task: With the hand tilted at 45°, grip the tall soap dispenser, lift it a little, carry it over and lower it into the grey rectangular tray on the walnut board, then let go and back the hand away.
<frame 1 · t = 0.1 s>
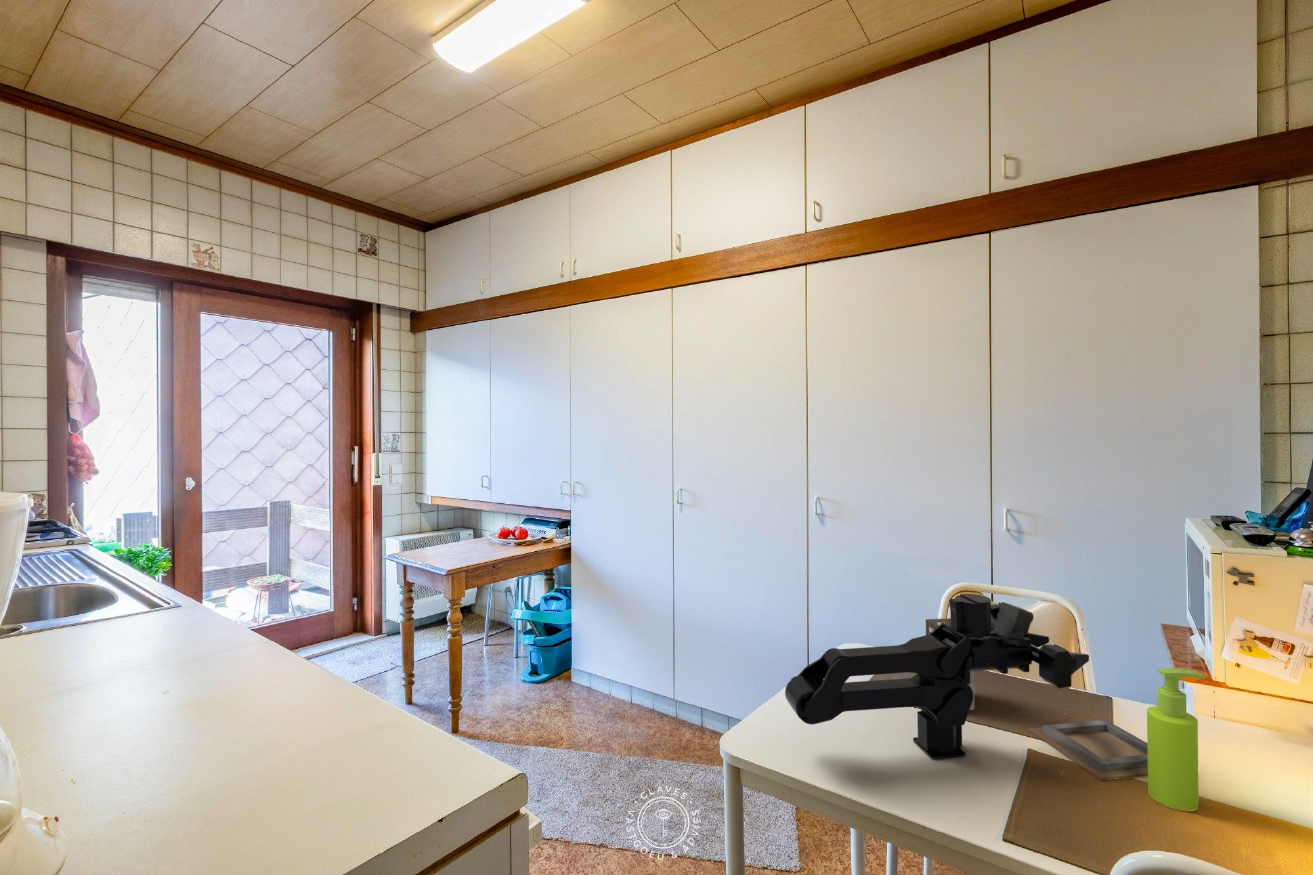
hand: (1067, 648, 110), 17 cm above the table, tool horizontal, fingers open, 9 cm apart
soap dispenser: (1176, 800, 92), on the table
grey rectangular tray: (1104, 750, 106), on the table
coffee box: (949, 701, 126), on the table
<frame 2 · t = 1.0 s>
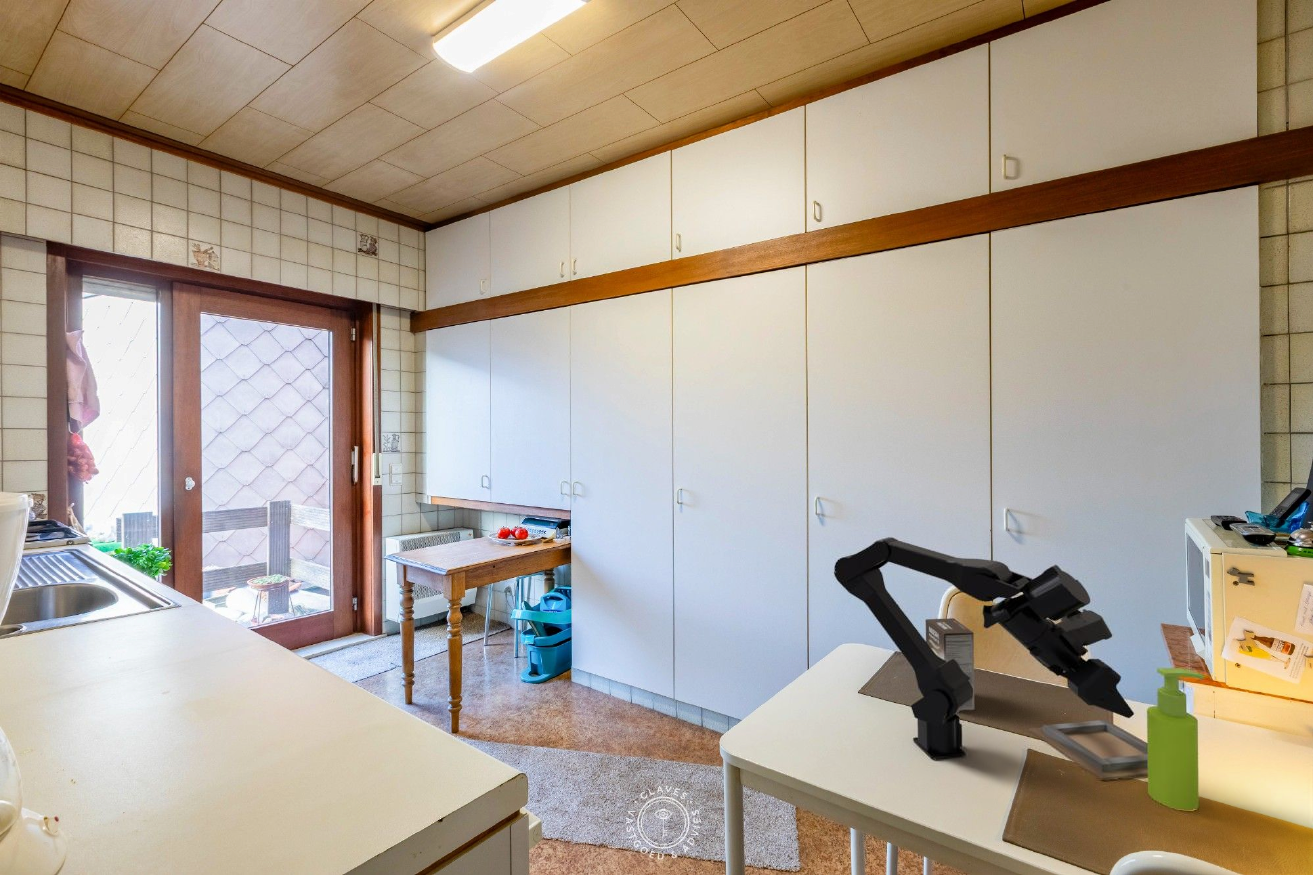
hand: (1114, 702, 94), 14 cm above the table, tool tilted 45°, fingers open, 9 cm apart
nothing on the table moved.
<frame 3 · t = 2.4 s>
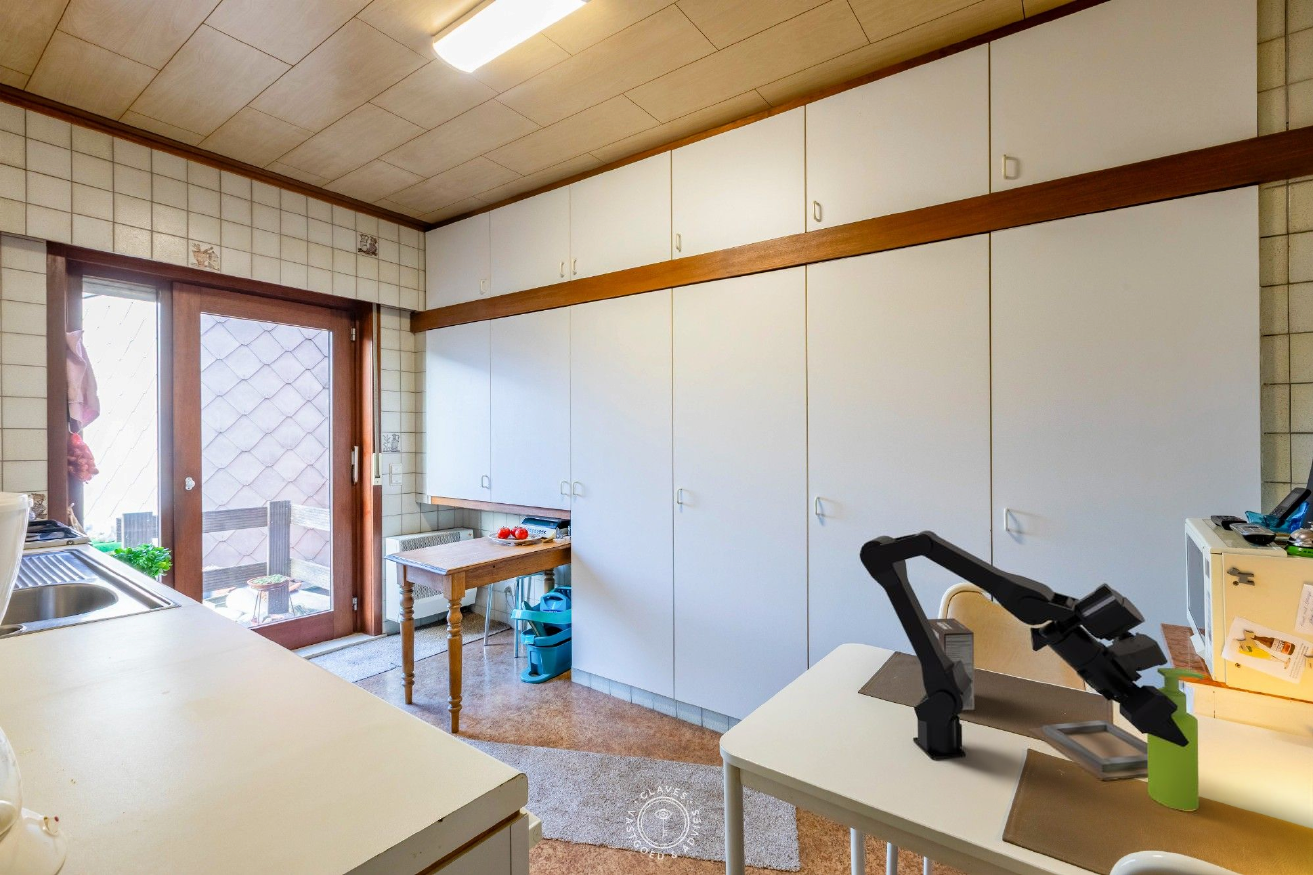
hand: (1167, 728, 91), 11 cm above the table, tool tilted 45°, fingers open, 9 cm apart
nothing on the table moved.
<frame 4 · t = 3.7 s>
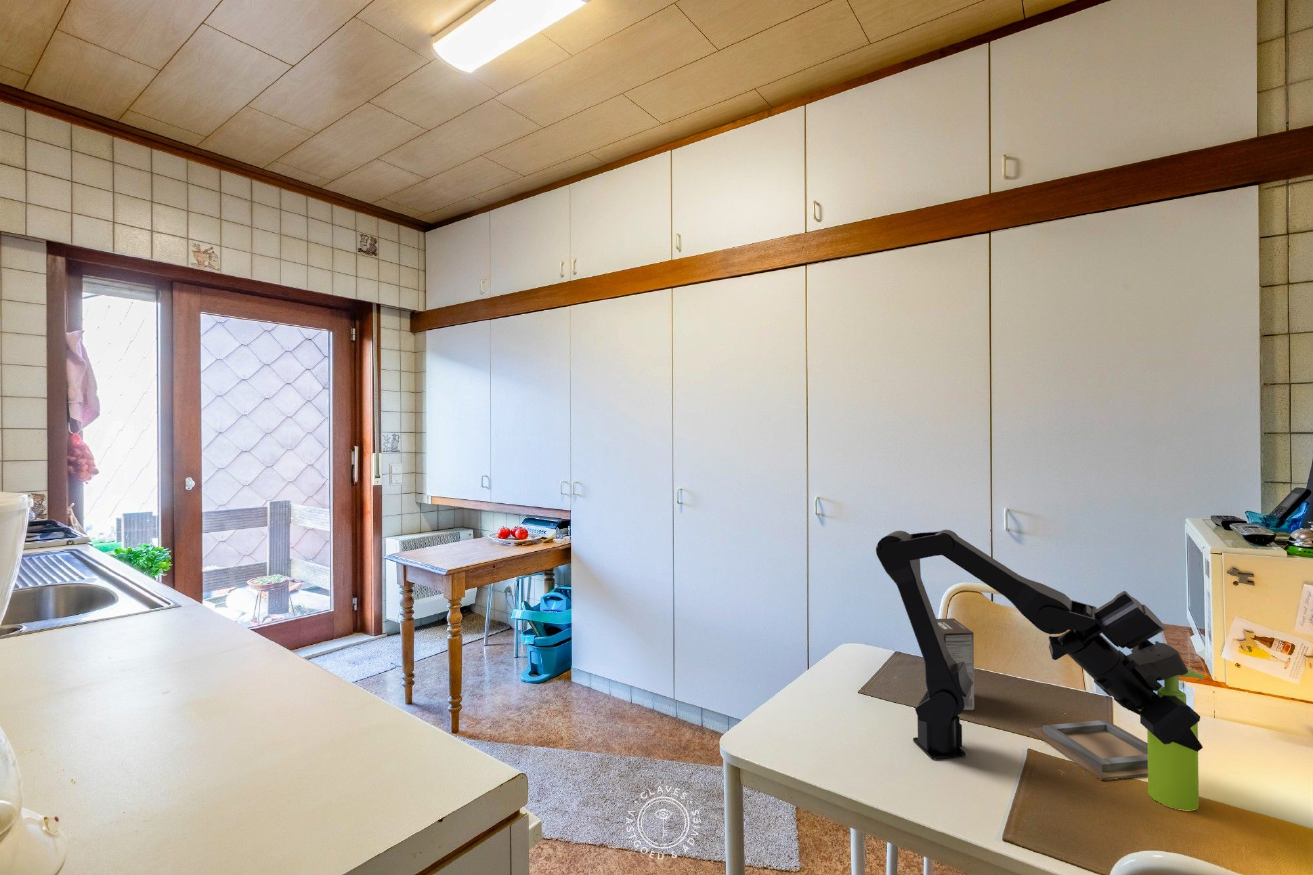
hand: (1186, 738, 91), 10 cm above the table, tool tilted 45°, fingers closed on soap dispenser, 6 cm apart
soap dispenser: (1176, 800, 92), on the table, touching gripper
everything else where it was.
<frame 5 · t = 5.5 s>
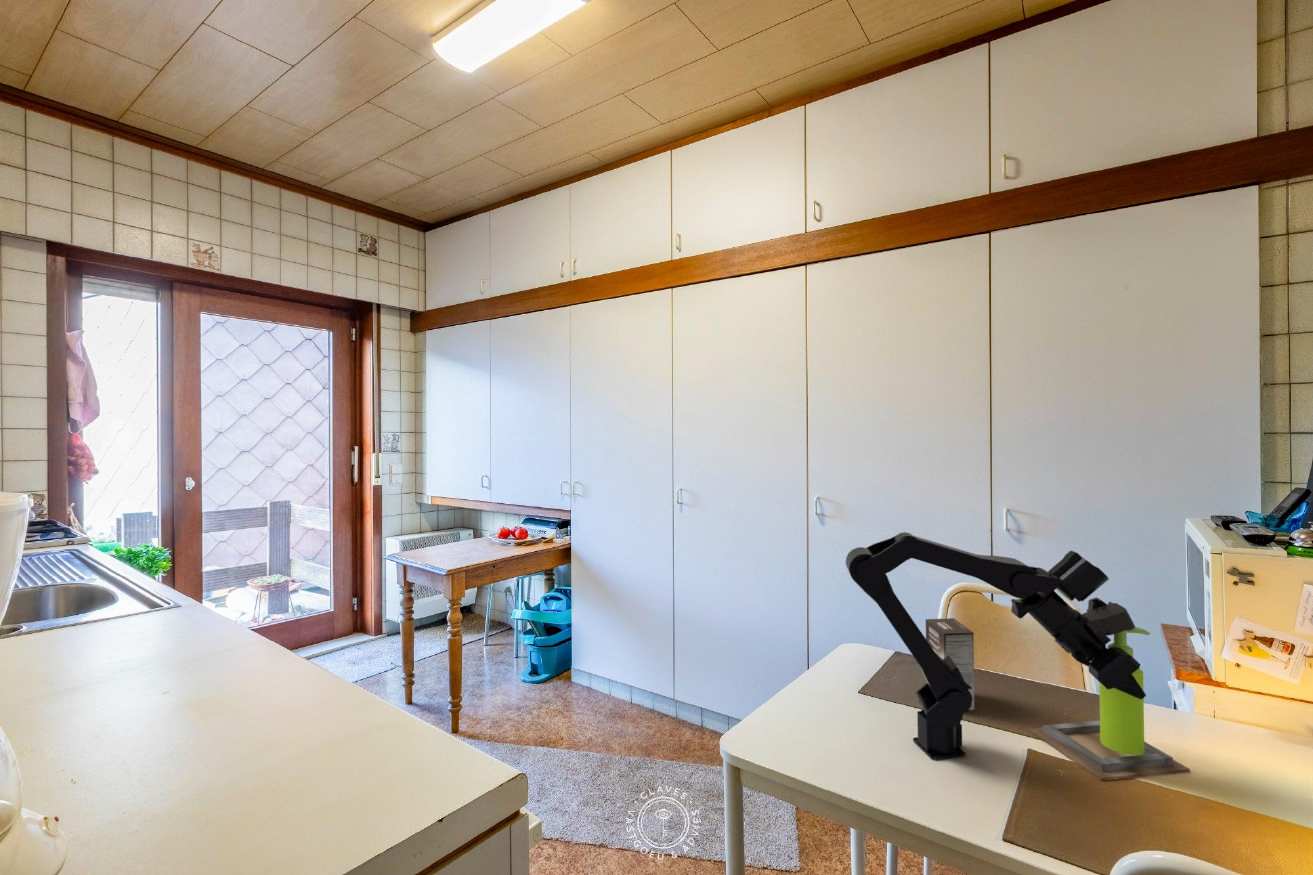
hand: (1133, 689, 100), 13 cm above the table, tool tilted 45°, fingers closed on soap dispenser, 6 cm apart
soap dispenser: (1125, 747, 100), point 3 cm above the table, touching gripper
everything else where it was.
when the fingers open (11 cm above the table, at t = 7.3 s): soap dispenser stays where it is, resting on grey rectangular tray.
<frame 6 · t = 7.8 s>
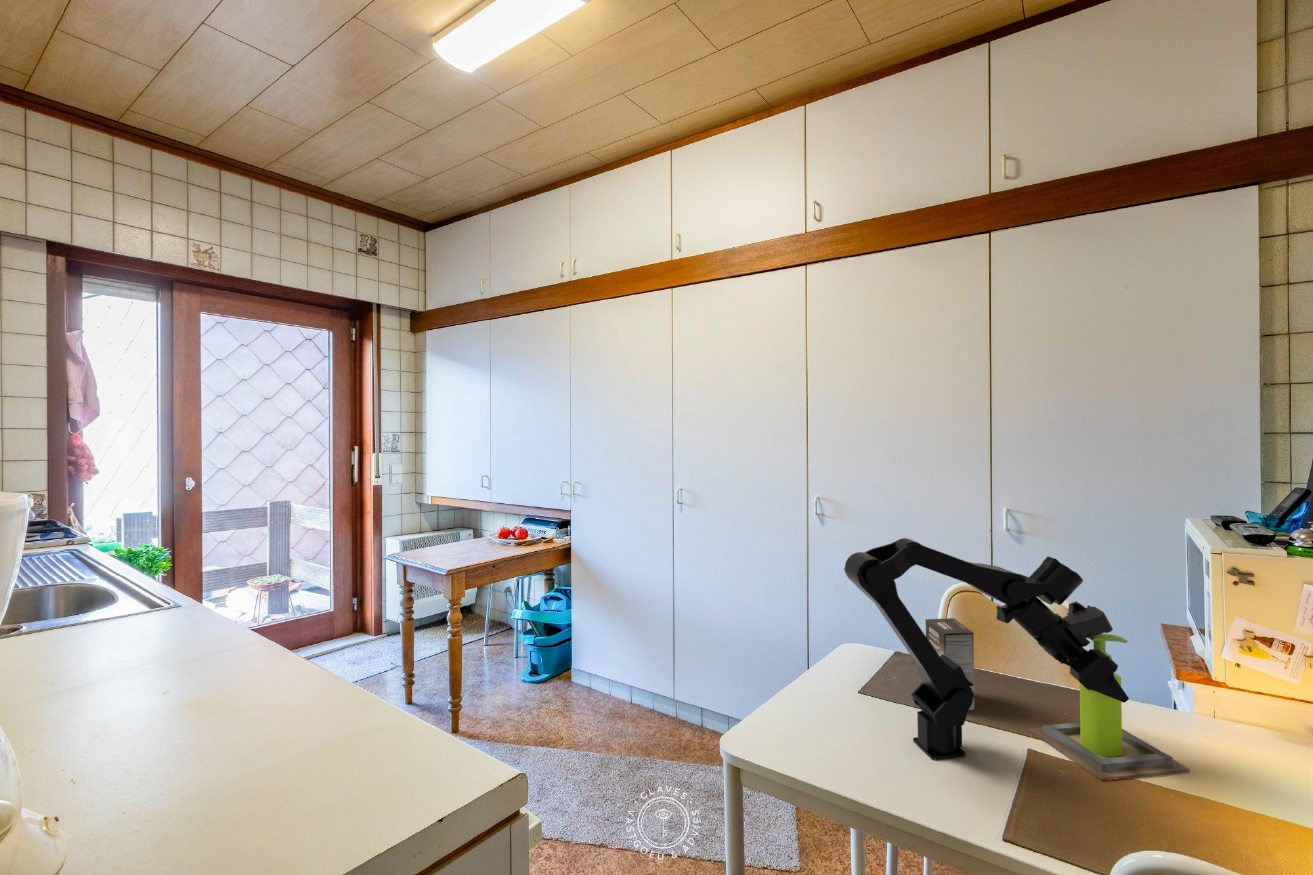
hand: (1112, 688, 105), 11 cm above the table, tool tilted 45°, fingers open, 9 cm apart
soap dispenser: (1104, 749, 105), resting on grey rectangular tray
everything else where it was.
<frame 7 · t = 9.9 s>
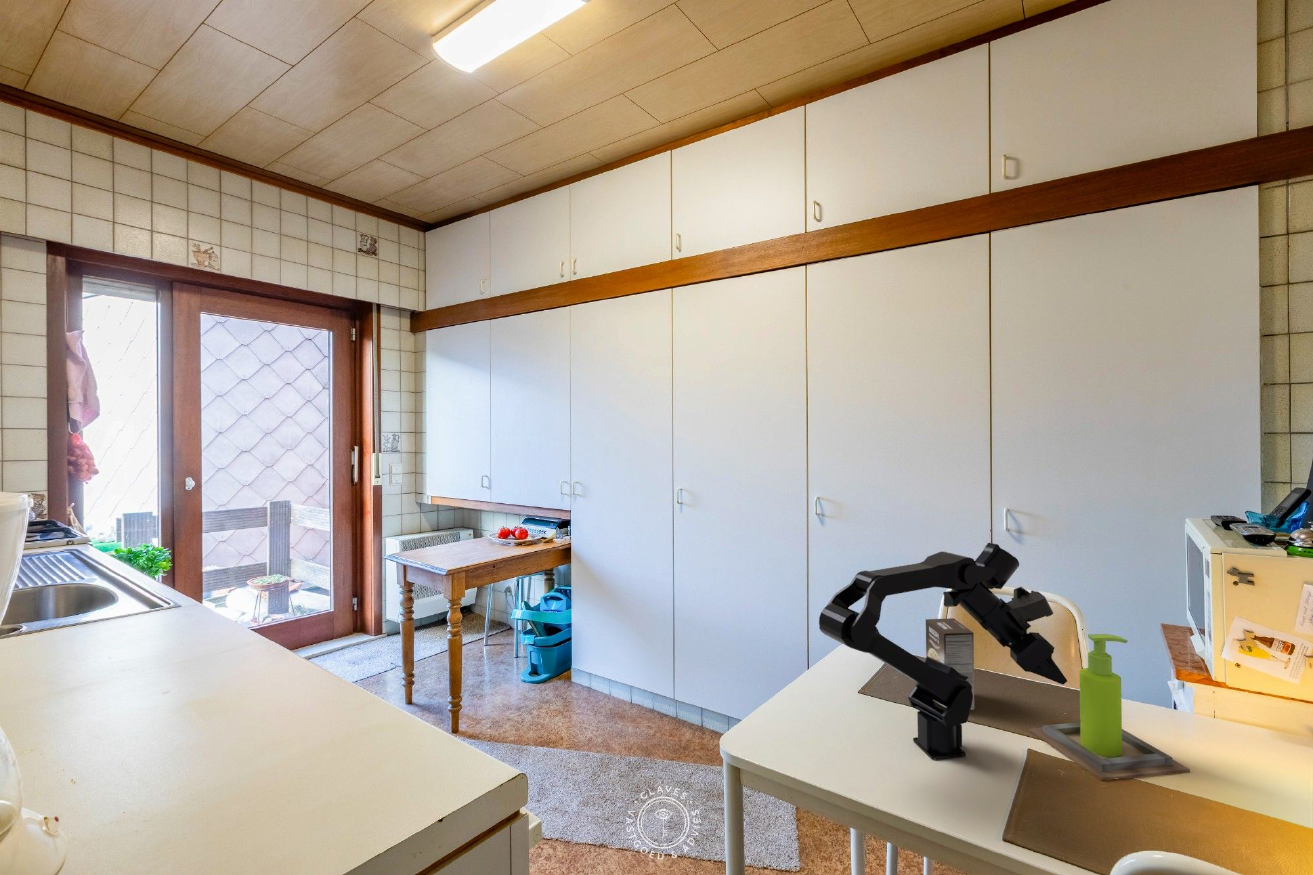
hand: (1054, 671, 107), 13 cm above the table, tool tilted 45°, fingers open, 9 cm apart
nothing on the table moved.
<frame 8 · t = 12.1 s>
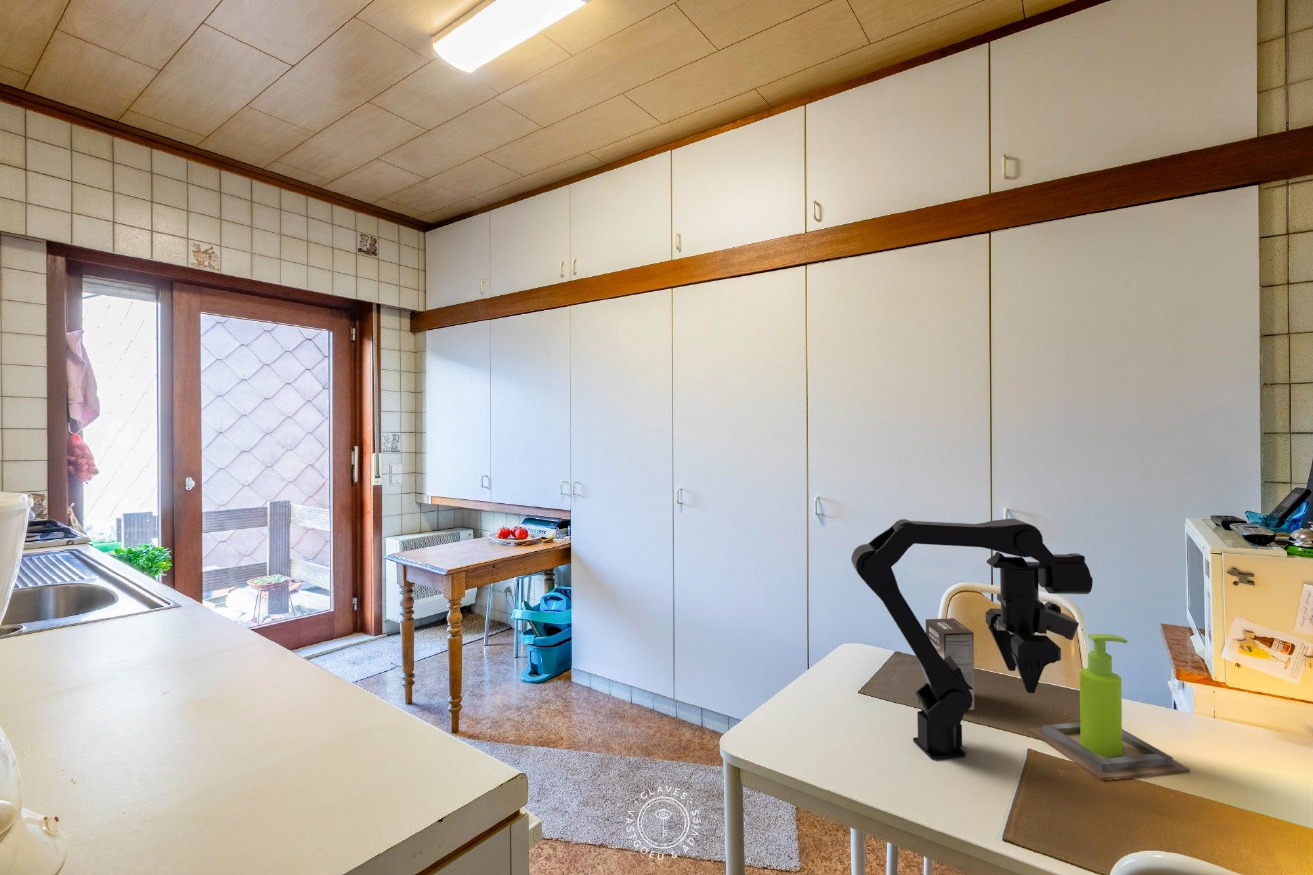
hand: (1020, 681, 105), 13 cm above the table, tool pointing down, fingers open, 9 cm apart
nothing on the table moved.
at the end: soap dispenser 0.4 cm off-centre on the grey rectangular tray, point 0.3 cm above the grey rectangular tray's base; soap dispenser tilted 0°; the gripper is holding nothing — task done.
